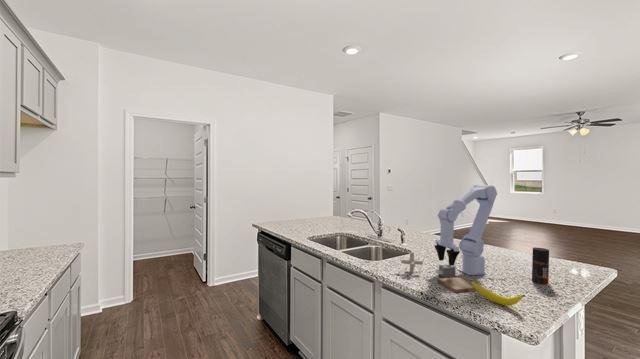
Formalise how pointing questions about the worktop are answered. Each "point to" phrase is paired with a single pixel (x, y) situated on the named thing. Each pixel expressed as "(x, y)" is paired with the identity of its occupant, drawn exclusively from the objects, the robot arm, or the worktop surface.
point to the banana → (497, 296)
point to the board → (457, 284)
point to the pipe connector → (412, 262)
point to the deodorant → (540, 266)
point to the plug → (446, 271)
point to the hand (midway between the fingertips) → (446, 262)
